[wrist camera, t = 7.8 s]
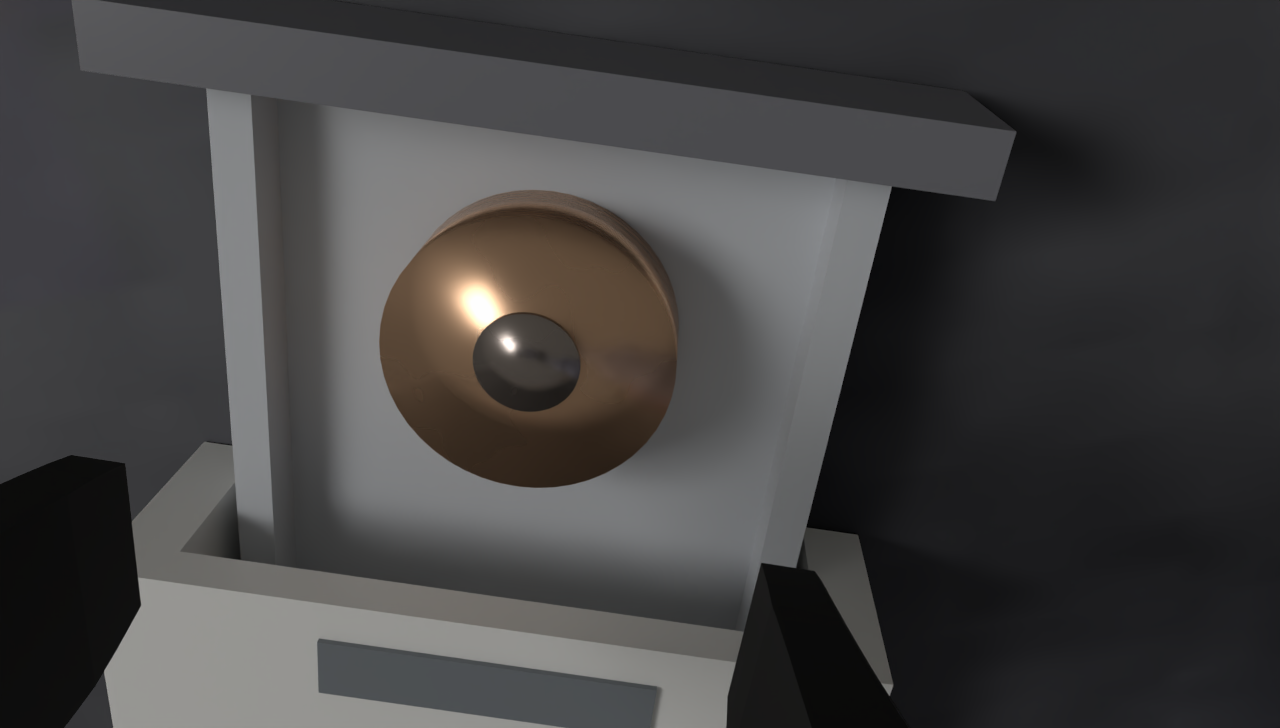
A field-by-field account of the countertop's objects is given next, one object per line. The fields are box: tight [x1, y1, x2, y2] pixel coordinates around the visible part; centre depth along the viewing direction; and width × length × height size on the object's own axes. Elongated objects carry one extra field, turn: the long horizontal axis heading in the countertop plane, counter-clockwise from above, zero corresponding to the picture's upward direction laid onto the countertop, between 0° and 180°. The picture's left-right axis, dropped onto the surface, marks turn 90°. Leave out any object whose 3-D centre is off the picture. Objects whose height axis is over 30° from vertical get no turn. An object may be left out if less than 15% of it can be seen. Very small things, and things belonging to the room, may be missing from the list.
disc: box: [379, 190, 679, 488], centre depth 17 cm, size 5×5×2 cm
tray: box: [72, 0, 1016, 632], centre depth 18 cm, size 13×13×3 cm
